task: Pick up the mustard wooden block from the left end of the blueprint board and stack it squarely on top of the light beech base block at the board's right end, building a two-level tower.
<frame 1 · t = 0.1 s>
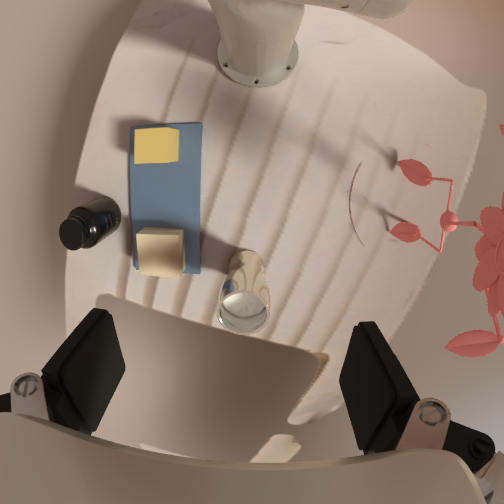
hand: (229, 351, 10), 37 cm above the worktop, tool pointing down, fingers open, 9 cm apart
supplement bottle: (107, 215, 46), on the worktop
blueprint board: (164, 200, 45), on the worktop
mustard block: (163, 145, 41), point 1 cm above the worktop, touching blueprint board
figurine: (388, 195, 44), on the worktop
beer glass: (246, 266, 49), on the worktop
beech base block: (165, 247, 47), resting on blueprint board
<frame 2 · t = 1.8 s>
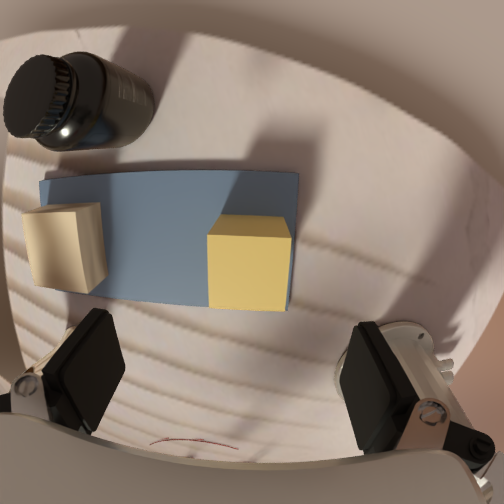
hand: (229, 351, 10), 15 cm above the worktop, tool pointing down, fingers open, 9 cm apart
supplement bottle: (122, 111, 21), on the worktop
blueprint board: (149, 238, 24), on the worktop
mustard block: (250, 245, 23), point 1 cm above the worktop, touching blueprint board
beer glass: (85, 345, 29), on the worktop
beech base block: (75, 239, 23), resting on blueprint board
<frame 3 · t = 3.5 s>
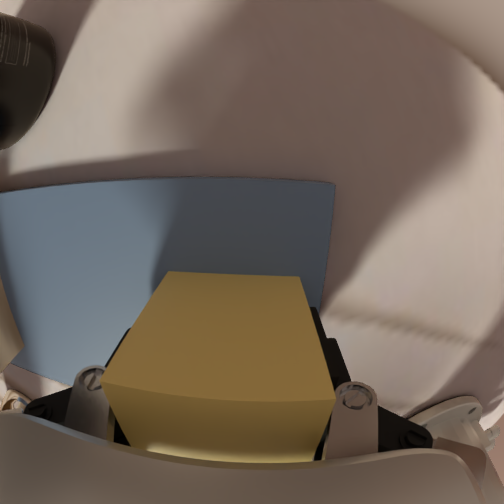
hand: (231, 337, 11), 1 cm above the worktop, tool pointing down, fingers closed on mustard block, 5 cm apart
supplement bottle: (17, 88, 8), on the worktop
blueprint board: (64, 301, 12), on the worktop
mustard block: (232, 328, 11), point 1 cm above the worktop, touching blueprint board, gripper
beer glass: (31, 410, 17), on the worktop
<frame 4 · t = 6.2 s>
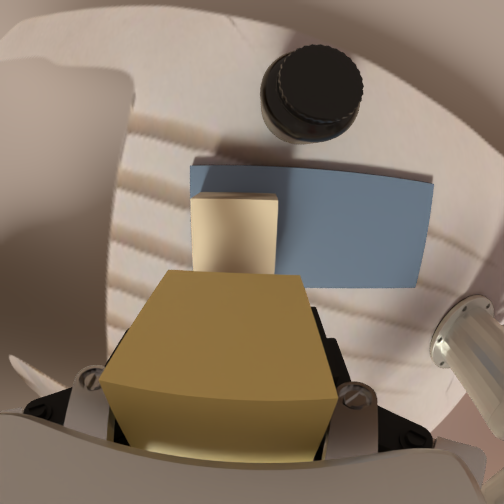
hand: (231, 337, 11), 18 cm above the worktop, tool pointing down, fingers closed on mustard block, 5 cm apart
supplement bottle: (296, 111, 24), on the worktop
blueprint board: (318, 229, 28), on the worktop
mustard block: (232, 327, 11), point 17 cm above the worktop, touching gripper
beech base block: (237, 228, 27), resting on blueprint board
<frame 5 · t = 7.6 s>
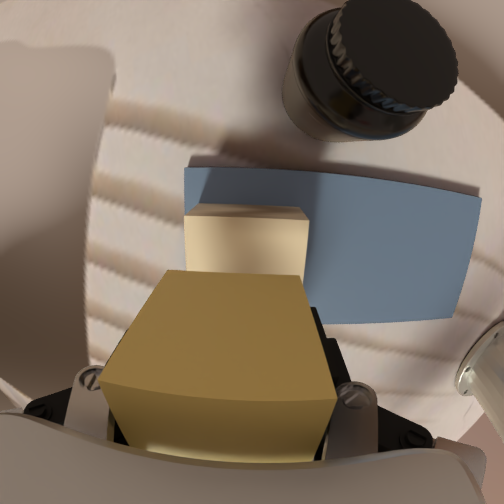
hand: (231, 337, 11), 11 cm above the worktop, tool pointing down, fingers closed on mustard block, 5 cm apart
supplement bottle: (327, 98, 18), on the worktop
blueprint board: (350, 253, 21), on the worktop
mustard block: (232, 328, 11), point 10 cm above the worktop, touching gripper
beech base block: (247, 252, 21), resting on blueprint board
when the fingers open (7 cm above the worktop, at t = 8.7 s): mustard block drops 1 cm, resting on beech base block.
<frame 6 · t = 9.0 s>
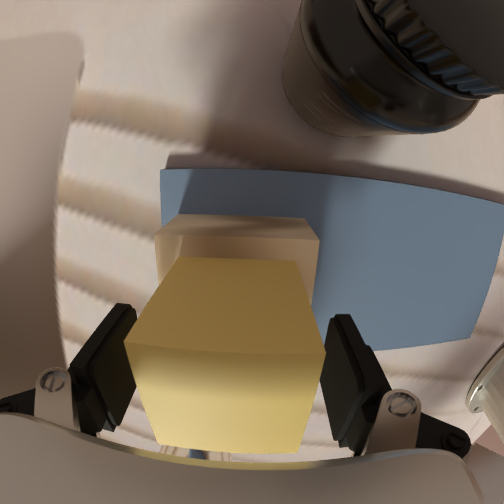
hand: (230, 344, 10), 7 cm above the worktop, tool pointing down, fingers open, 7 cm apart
supplement bottle: (337, 83, 14), on the worktop
blueprint board: (364, 272, 17), on the worktop
mustard block: (235, 309, 13), point 5 cm above the worktop, touching beech base block
beer glass: (204, 408, 22), on the worktop
beech base block: (239, 274, 17), resting on blueprint board
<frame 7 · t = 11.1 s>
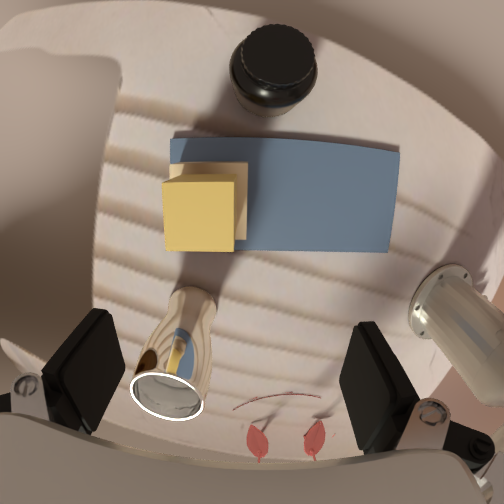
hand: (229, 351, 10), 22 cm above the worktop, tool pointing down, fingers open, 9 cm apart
supplement bottle: (266, 88, 26), on the worktop
blueprint board: (289, 195, 30), on the worktop
mustard block: (208, 201, 25), point 5 cm above the worktop, touching beech base block
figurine: (287, 417, 43), on the worktop
beer glass: (192, 306, 35), on the worktop
beech base block: (213, 194, 29), resting on blueprint board
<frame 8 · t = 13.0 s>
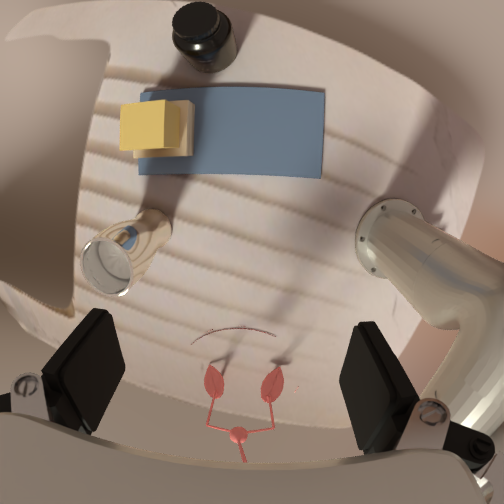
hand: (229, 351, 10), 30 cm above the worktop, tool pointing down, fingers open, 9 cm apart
supplement bottle: (212, 53, 31), on the worktop
blueprint board: (228, 129, 35), on the worktop
mustard block: (159, 128, 31), point 5 cm above the worktop, touching beech base block
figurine: (245, 359, 48), on the worktop
beer glass: (152, 228, 40), on the worktop
beech base block: (168, 131, 34), resting on blueprint board
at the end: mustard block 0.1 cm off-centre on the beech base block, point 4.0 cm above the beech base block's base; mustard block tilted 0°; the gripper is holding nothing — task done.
